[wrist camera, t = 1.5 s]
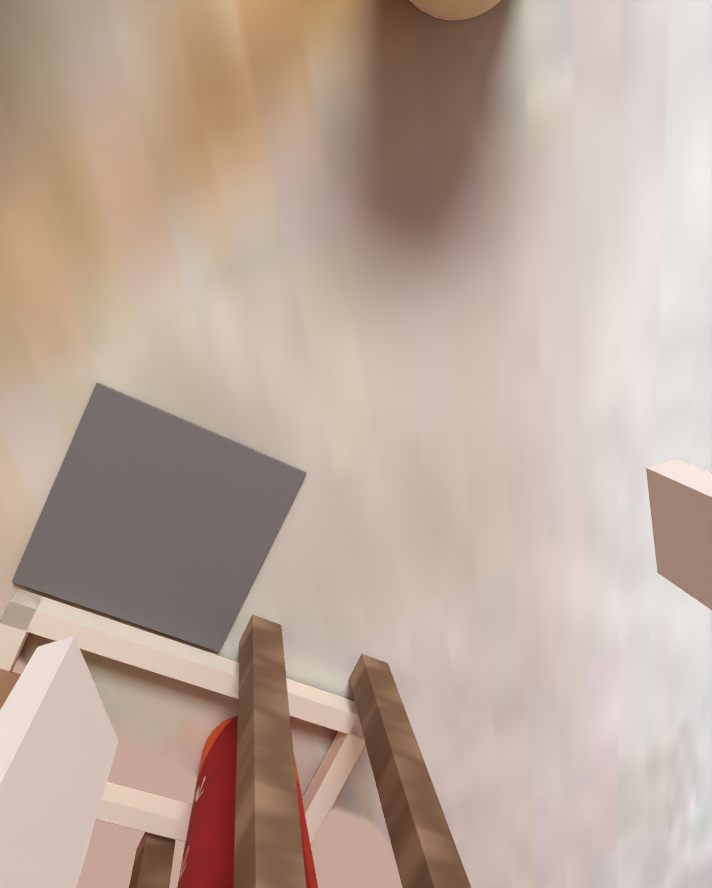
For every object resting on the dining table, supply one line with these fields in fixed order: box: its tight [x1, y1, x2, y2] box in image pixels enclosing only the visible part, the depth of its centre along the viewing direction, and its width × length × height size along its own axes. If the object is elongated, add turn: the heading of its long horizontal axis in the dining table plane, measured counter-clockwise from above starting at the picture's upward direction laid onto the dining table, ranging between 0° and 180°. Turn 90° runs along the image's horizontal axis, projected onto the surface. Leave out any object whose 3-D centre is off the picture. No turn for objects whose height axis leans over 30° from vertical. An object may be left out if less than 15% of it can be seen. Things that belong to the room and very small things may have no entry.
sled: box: [0, 589, 366, 845], centre depth 35 cm, size 25×12×12 cm, turn 63°
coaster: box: [12, 383, 306, 652], centre depth 37 cm, size 13×13×1 cm
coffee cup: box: [177, 716, 318, 888], centre depth 35 cm, size 8×8×15 cm
